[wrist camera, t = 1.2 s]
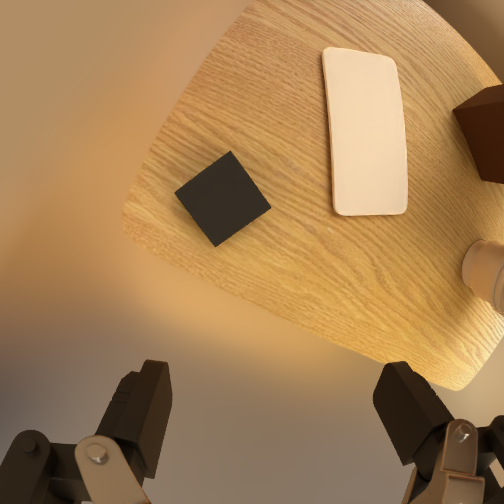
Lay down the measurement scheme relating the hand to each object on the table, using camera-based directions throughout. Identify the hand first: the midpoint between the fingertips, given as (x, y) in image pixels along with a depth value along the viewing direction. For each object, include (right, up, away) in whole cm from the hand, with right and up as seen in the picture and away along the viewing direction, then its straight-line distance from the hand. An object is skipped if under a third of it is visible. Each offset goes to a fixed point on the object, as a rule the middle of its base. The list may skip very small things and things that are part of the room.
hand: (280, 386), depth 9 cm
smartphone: (+9, +15, +12) cm, 21 cm away
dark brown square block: (-3, +9, +13) cm, 17 cm away
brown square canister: (+26, +19, +12) cm, 34 cm away
